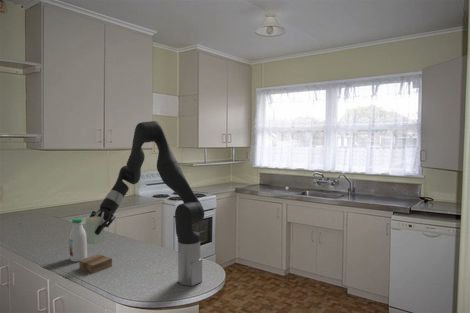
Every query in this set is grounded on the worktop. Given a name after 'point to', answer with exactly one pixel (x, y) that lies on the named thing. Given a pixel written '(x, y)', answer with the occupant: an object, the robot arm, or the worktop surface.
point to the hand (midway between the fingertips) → (91, 232)
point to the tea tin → (91, 227)
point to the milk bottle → (77, 241)
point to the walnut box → (95, 263)
